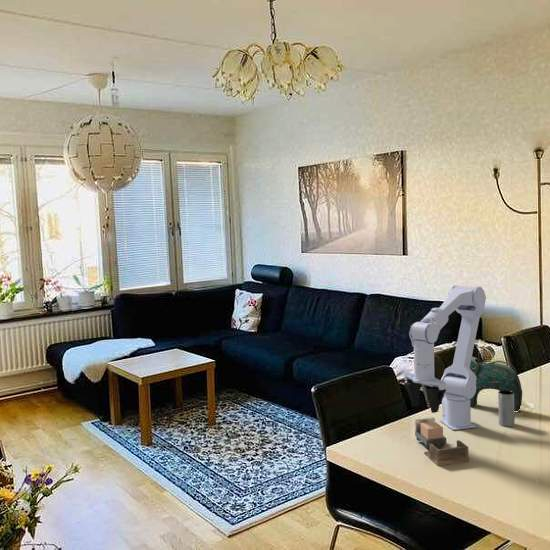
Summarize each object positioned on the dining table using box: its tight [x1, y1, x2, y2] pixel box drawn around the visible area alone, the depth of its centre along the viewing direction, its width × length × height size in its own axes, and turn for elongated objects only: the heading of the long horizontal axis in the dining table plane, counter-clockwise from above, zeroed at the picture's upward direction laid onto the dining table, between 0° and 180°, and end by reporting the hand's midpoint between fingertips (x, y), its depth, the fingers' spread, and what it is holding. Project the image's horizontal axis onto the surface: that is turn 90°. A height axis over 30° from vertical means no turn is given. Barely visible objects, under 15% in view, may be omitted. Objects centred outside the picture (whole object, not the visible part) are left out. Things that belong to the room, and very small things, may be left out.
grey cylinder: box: [497, 390, 516, 428], centre depth 182 cm, size 4×4×10 cm
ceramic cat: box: [470, 349, 523, 411], centre depth 198 cm, size 20×6×20 cm, turn 56°
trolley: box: [414, 417, 447, 449], centre depth 170 cm, size 8×6×6 cm
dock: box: [423, 439, 470, 467], centre depth 160 cm, size 8×9×4 cm
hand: (424, 408), depth 172 cm, fingers open, 7 cm apart
